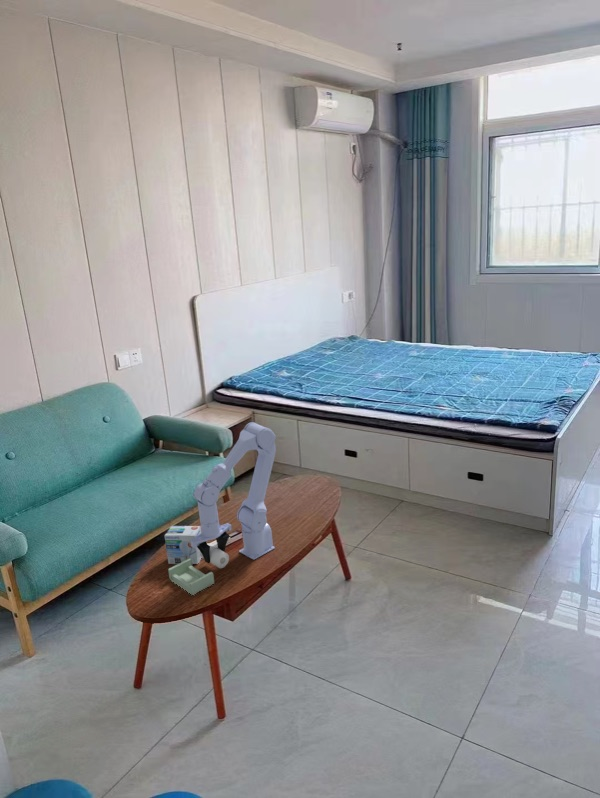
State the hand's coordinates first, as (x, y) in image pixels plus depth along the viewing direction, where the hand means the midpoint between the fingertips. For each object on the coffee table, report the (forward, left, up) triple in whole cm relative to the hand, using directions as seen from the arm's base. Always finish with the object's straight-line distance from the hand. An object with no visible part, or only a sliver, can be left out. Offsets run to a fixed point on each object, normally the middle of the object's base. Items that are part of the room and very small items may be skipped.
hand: (214, 558), depth 189 cm
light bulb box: (+3, -13, -4) cm, 14 cm away
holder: (+10, 0, -4) cm, 10 cm away
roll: (0, 0, +1) cm, 1 cm away
